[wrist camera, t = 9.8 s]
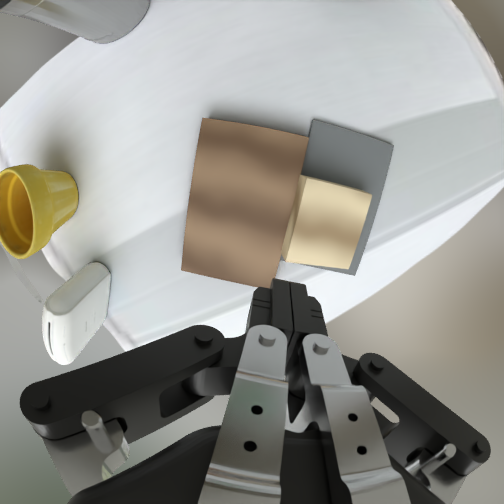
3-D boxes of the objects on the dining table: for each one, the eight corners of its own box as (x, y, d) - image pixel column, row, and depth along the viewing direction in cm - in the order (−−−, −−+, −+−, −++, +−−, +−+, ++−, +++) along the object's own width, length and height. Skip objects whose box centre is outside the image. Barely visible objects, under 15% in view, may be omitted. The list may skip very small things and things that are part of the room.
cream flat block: (300, 174, 24) (306, 178, 22) (362, 190, 25) (372, 194, 24) (280, 253, 27) (285, 261, 25) (340, 260, 29) (348, 269, 27)
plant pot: (31, 182, 28) (-17, 198, 19) (70, 141, 26) (14, 148, 17) (58, 242, 31) (13, 271, 22) (101, 211, 29) (48, 238, 20)
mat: (312, 119, 24) (313, 119, 23) (391, 145, 24) (393, 145, 23) (280, 257, 30) (280, 259, 29) (353, 273, 30) (354, 275, 29)
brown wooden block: (207, 119, 25) (202, 117, 23) (306, 138, 25) (309, 137, 23) (186, 262, 31) (181, 270, 29) (272, 281, 31) (271, 290, 29)
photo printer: (107, 323, 36) (66, 377, 24) (85, 310, 36) (41, 360, 24) (115, 269, 32) (59, 323, 21) (90, 256, 32) (31, 302, 20)
